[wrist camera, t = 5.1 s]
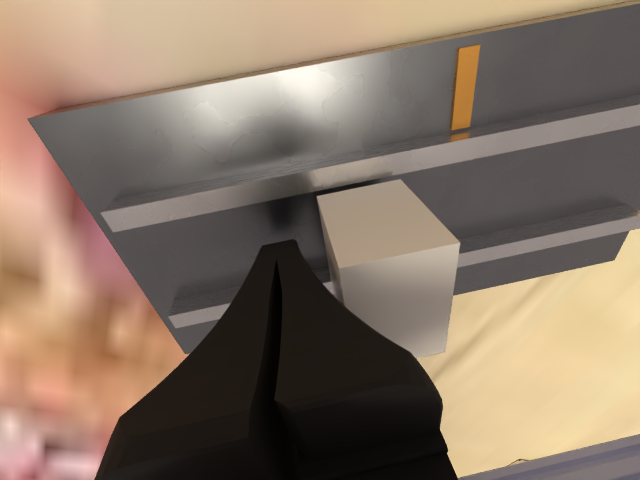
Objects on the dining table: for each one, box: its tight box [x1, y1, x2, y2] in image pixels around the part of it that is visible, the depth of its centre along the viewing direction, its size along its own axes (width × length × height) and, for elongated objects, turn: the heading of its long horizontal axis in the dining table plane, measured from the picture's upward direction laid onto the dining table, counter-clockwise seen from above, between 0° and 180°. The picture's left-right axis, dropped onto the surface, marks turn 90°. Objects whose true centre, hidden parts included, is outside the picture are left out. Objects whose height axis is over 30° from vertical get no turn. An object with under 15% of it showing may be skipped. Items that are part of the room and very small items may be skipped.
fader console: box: [28, 0, 640, 354], centre depth 13 cm, size 12×24×2 cm, turn 99°
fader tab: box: [317, 179, 460, 359], centre depth 11 cm, size 4×3×5 cm
